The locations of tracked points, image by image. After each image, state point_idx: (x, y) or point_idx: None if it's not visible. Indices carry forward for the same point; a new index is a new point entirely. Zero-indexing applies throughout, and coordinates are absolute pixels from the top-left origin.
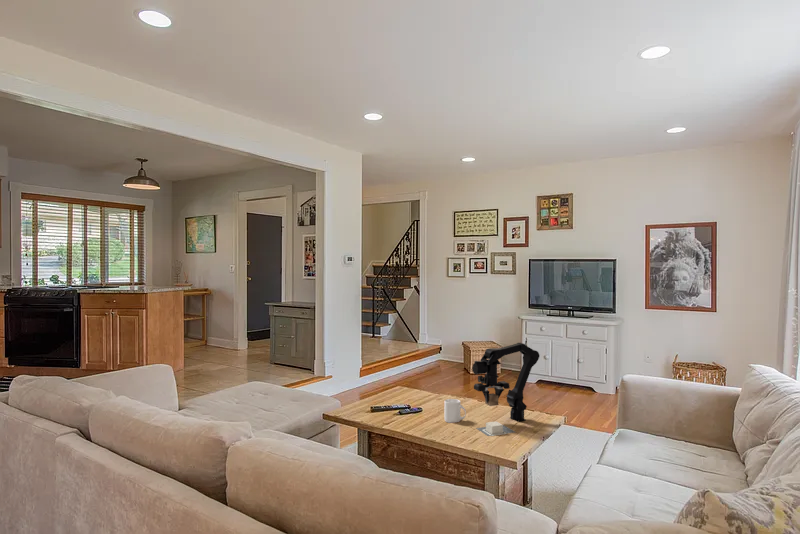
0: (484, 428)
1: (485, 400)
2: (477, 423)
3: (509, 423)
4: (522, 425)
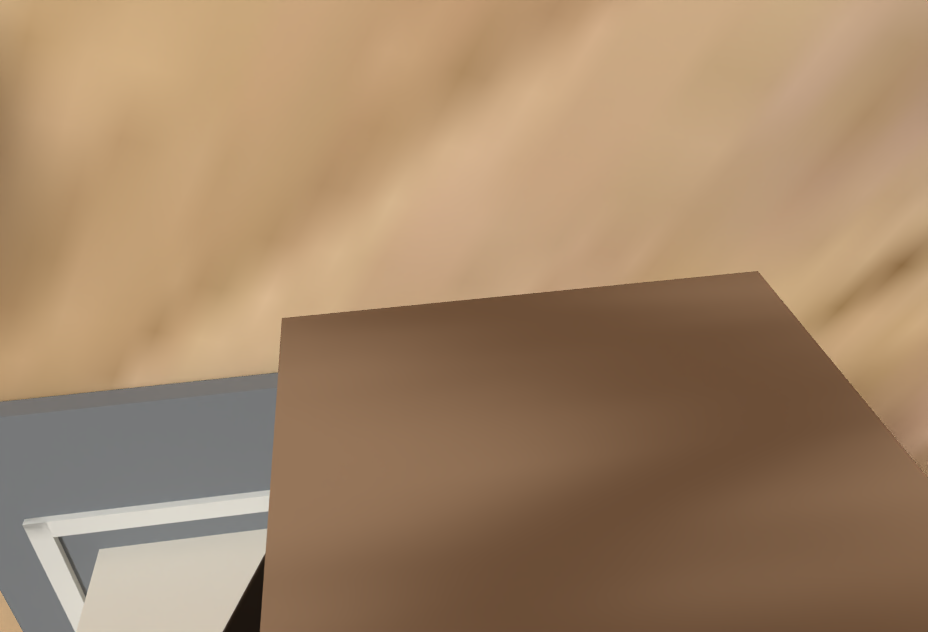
0: (105, 463)
1: (280, 458)
2: (54, 67)
3: (774, 250)
4: (890, 385)
